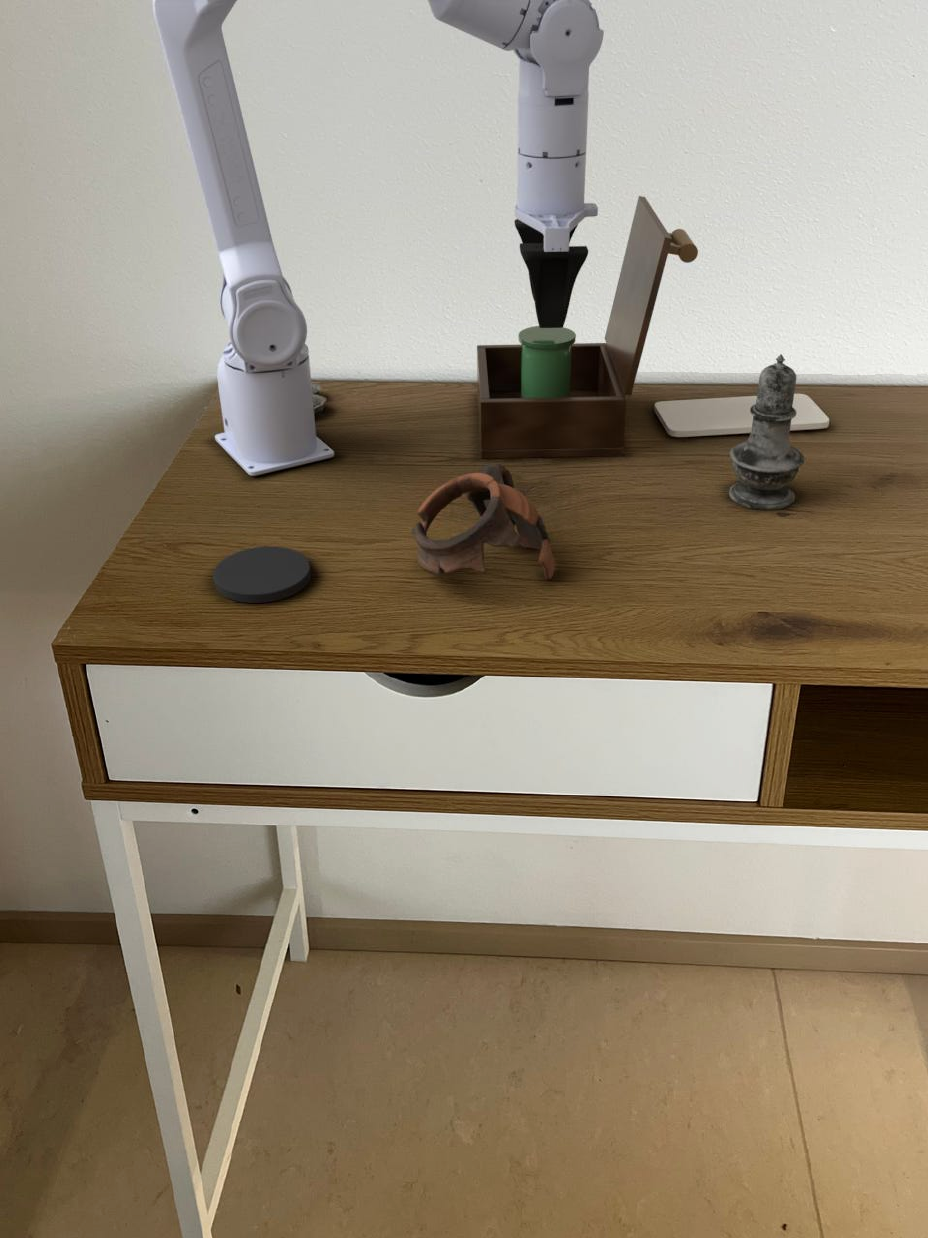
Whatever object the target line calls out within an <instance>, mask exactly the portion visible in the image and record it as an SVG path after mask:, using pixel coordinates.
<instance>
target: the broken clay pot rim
mask: <svg viewBox="0 0 928 1238" xmlns="http://www.w3.org/2000/svg"><path fill="white" fill-rule="evenodd" d="M463 494H466V499H467V500H468V501H469V502H471V504H472V506H473V508H474V509H475V511H477V513H478V516H479V517H480V518H478V520H477V521H476V522H474V524H472V526H470V527H469V528H468V529H466V530H464V531H462V532H461V533H458V534H456V535H454V536H452V537H449V538H445V539H432V538H430V537H428V536H427V533H428V530H429V528H430V526H431V524H432V523H433V521H434V520H435V518H436V517H437V516H438V514H440V513H441V511H442V510H444V509H445V508H446V507H447V506H448V505H450V504H451V503H452V502H454V501H456V499H459V498H461V497H462V496H463ZM417 516H418V517H419V518H421V520H422V522H420V521H418V522H416V523H415V525H414V526H413V527H412V529H411V535H412V538H413V540H414V541H415V543H416V544H417V563H418V564H419V565H420V567H421V568H423V569H425V570H426V571H428V572H431V573H433V574H435V575H442V574H444V573H446V574H454V573H455V574H456V573H458V572H460V571H464V570H473V571H476V572H478V573H483V574H485V573H487V569H486V567H485V552H484V551H485V550H484V548H485V547H484V546H485V545H484V544H487V545H489V546H491V547H494V548H502V547H503V548H504V547H508V548H514V547H515V548H516V547H518V546H519V545H520V546H521V547H522V548H524V549H529V548H531V549H534V550H538V551H540V553H539V556H538V563H539V565H540V566H541V567H542V568H543V576H544V579H546V580H549V581H550V580H551V579H552V578H553V575H554V572H555V557H554V555H553V551H552V545H551V544H552V543H551V539H550V537H549V533H548V532H547V527H546V525H545V524H544V521H543V519H542V517H541V515H540V513H539V511H538V510H537V508H536V507H535V505H533V504H532V502H531V500H529V499H528V498H527V496H525V494H523V493H522V492H521V491H519V489H516V488H515V484H514V480H513V476H512V473H511V472H510V469H508V468H507V467H506V466H505V465H504V464H501V463H499V462H492V463H490V464H487V465H483V466H482V467H481V468H480V469H479V471H478V472H472V473H465V474H462V475H459V476H456V477H455V478H451V479H450V480H448V481H446V482H445V483H443V484H442V485H440V486H439V487H438V488H436V489H435V490H434V491H433V492H432V493H431V494H429V496H427V497H426V499H425V500H424V501H423V502H422V504H421V505H420V506H419V508H418V510H417ZM515 527H516V528H515Z"/></svg>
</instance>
